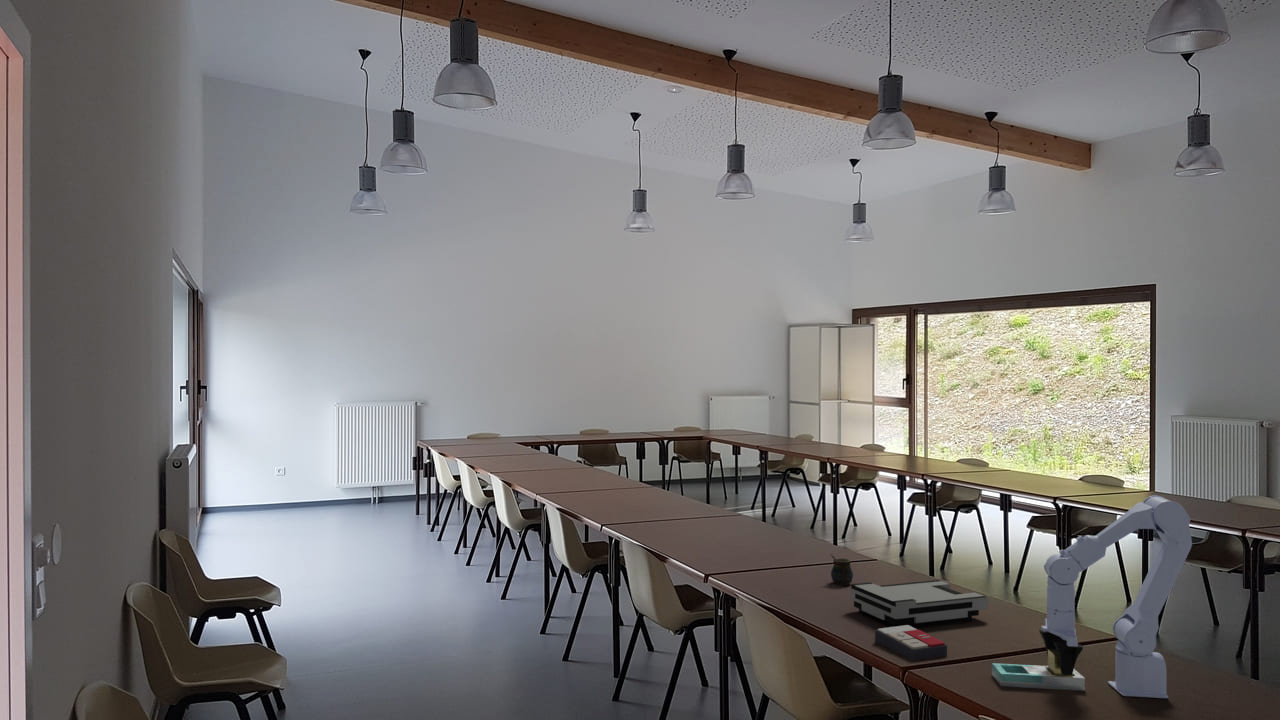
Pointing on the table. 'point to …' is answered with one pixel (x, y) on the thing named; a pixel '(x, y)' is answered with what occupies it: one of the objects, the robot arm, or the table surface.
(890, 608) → the game console
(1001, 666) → the white teal tray block
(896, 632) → the calculator
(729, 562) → the table surface
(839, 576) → the mate gourd
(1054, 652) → the nut
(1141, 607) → the robot arm
